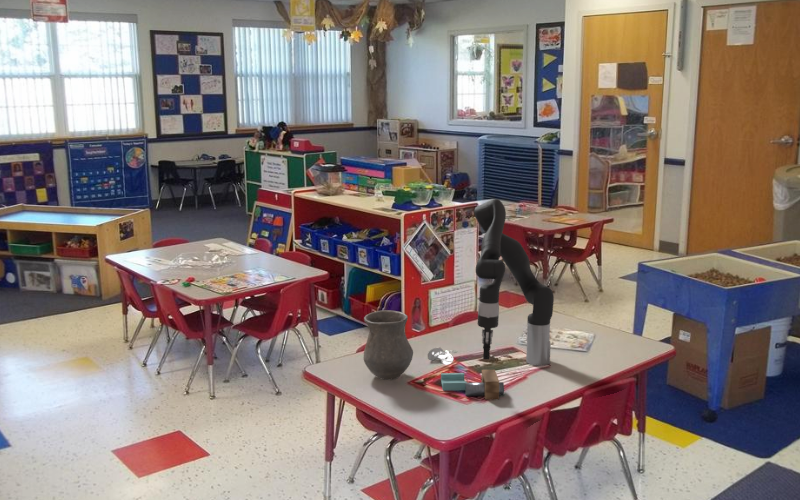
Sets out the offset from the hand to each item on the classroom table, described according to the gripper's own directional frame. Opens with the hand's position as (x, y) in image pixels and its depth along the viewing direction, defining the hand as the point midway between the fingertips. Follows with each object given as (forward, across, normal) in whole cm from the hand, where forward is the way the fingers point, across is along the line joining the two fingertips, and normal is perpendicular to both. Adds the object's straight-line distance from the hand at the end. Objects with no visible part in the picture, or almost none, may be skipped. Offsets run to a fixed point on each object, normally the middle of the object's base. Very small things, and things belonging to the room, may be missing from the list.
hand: (486, 358), depth 285 cm
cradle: (+15, -9, -12) cm, 21 cm away
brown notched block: (+14, -3, +2) cm, 15 cm away
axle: (+15, -2, 0) cm, 15 cm away
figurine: (+15, -34, -18) cm, 41 cm away
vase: (+16, -15, -38) cm, 44 cm away
